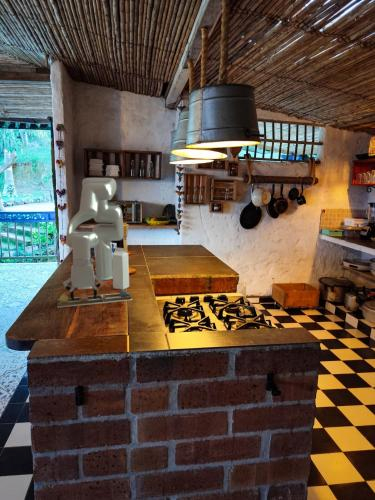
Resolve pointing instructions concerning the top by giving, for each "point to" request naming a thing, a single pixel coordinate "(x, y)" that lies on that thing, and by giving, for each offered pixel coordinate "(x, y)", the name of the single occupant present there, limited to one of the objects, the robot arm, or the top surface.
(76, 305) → the board
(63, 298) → the ochre ball
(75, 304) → the wooden picture frame
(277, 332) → the top surface
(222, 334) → the top surface
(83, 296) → the terracotta ball
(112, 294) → the wooden rectangular frame
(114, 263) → the milk
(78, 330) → the top surface
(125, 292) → the charcoal ball
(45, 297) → the top surface
